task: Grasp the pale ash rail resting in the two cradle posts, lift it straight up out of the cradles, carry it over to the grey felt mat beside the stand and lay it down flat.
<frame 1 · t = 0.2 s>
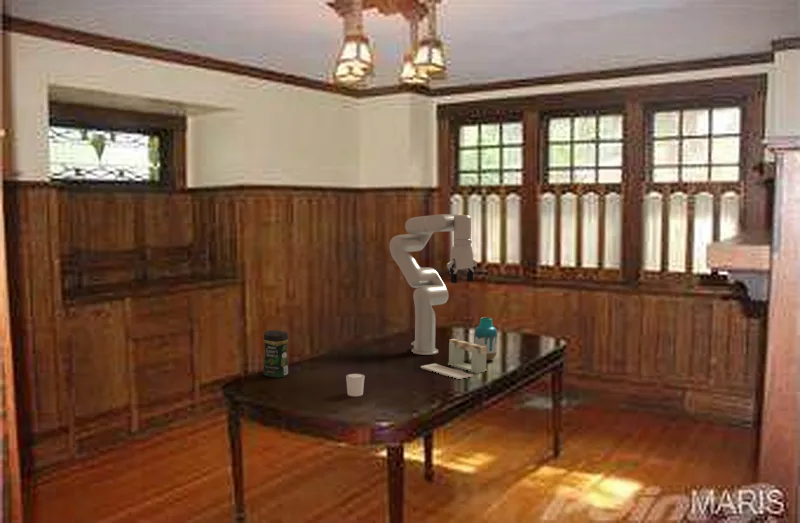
hand: (462, 282, 303), 36 cm above the table, tool pointing down, fingers open, 9 cm apart
vase: (485, 360, 311), on the table
coffee jar: (275, 376, 281), on the table
rail: (467, 349, 296), point 8 cm above the table, touching cradle stand
cradle stand: (467, 368, 296), on the table
felt mat: (446, 372, 289), on the table
shot glass: (355, 394, 256), on the table
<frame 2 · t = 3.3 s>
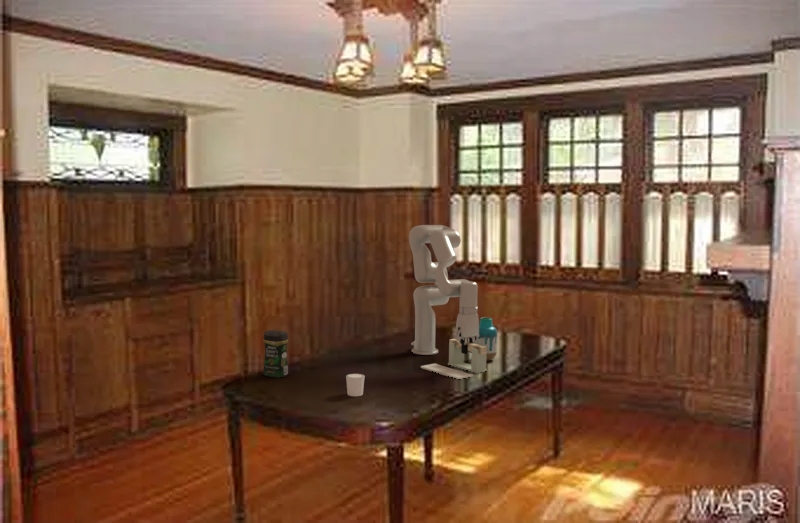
hand: (467, 352, 296), 7 cm above the table, tool pointing down, fingers closed on rail, 2 cm apart
rail: (467, 349, 296), point 8 cm above the table, touching cradle stand, gripper
everything else where it was.
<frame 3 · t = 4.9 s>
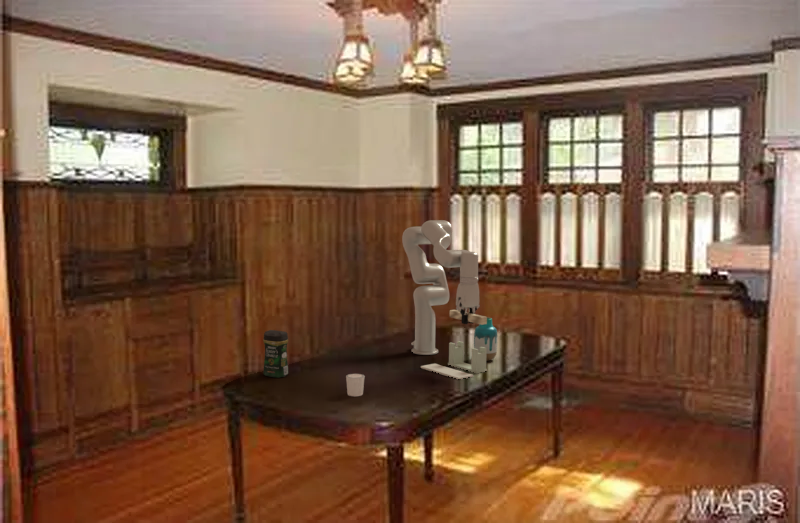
hand: (467, 323, 295), 20 cm above the table, tool pointing down, fingers closed on rail, 2 cm apart
rail: (467, 320, 295), point 21 cm above the table, touching gripper
everything else where it was.
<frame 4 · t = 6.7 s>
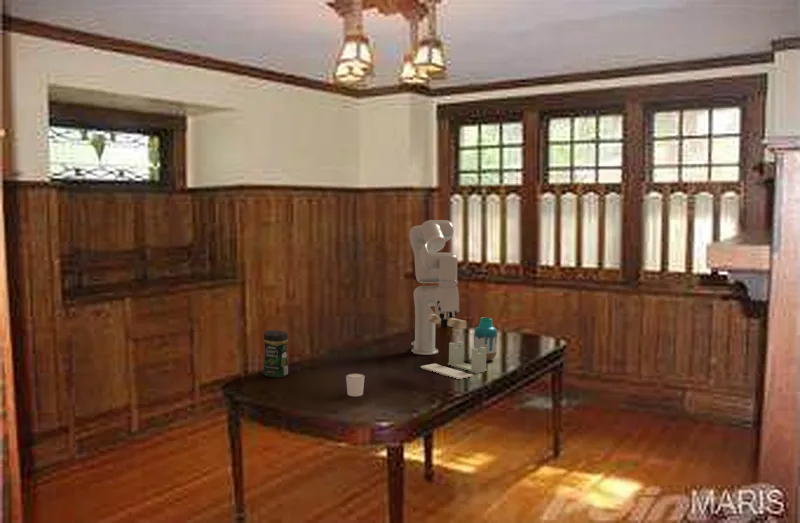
hand: (447, 327, 287), 19 cm above the table, tool pointing down, fingers closed on rail, 2 cm apart
rail: (447, 324, 287), point 20 cm above the table, touching gripper
everything else where it was.
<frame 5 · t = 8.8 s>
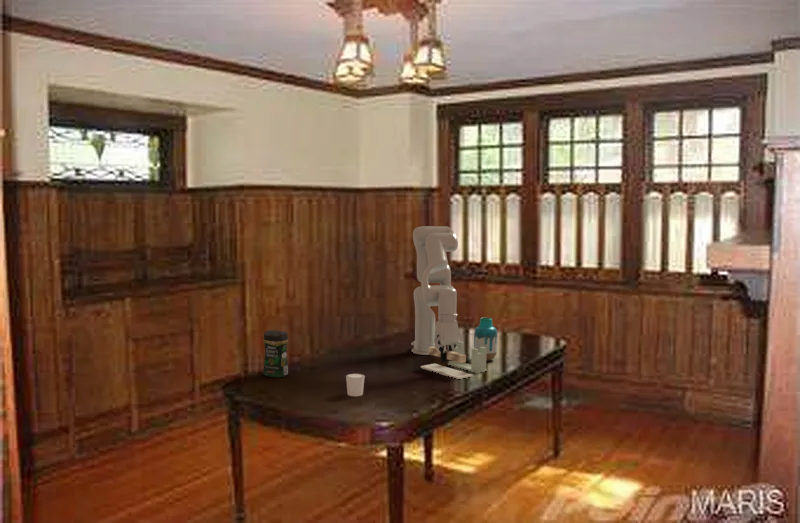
hand: (446, 360, 288), 5 cm above the table, tool pointing down, fingers closed on rail, 2 cm apart
rail: (446, 358, 288), point 6 cm above the table, touching gripper
everything else where it was.
when the fingers open (1 cm above the table, at t = 10.3 s): rail drops 2 cm, resting on felt mat.
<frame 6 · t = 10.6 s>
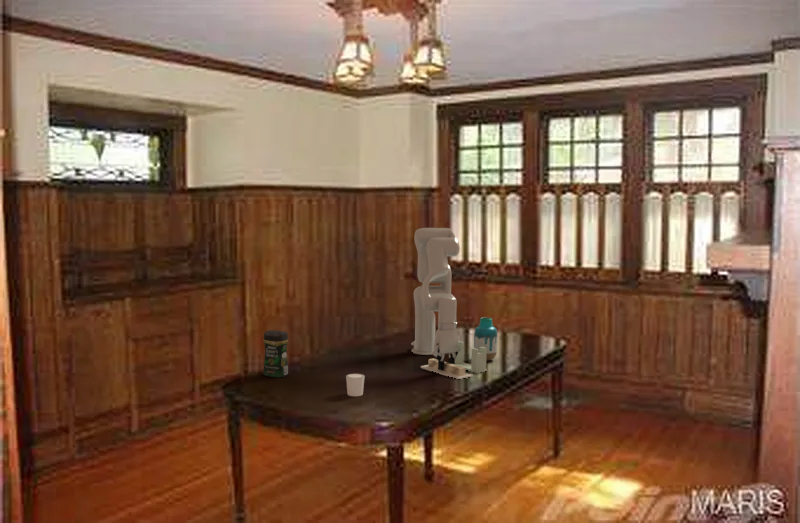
hand: (446, 368, 289), 2 cm above the table, tool pointing down, fingers open, 5 cm apart
rail: (446, 370, 289), point 1 cm above the table, touching felt mat
everything else where it was.
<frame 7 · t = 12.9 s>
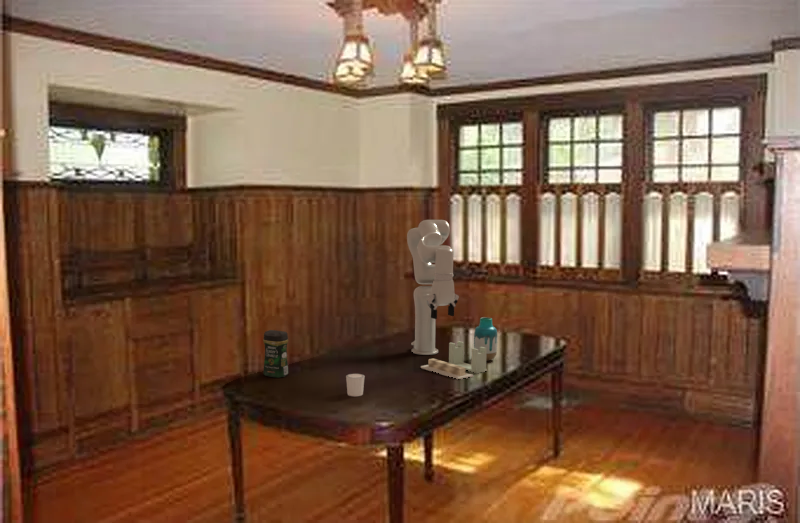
hand: (442, 316, 293), 22 cm above the table, tool pointing down, fingers open, 9 cm apart
nothing on the table moved.
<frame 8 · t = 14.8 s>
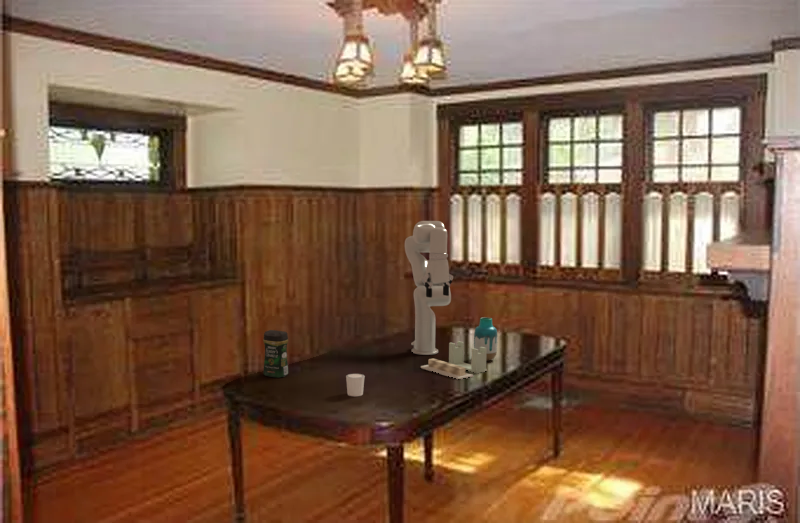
hand: (437, 296, 299), 30 cm above the table, tool pointing down, fingers open, 9 cm apart
nothing on the table moved.
at the end: rail inside the target area on the felt mat (0.0 cm from its centre), point 0.8 cm above the felt mat's base; rail touching felt mat; the gripper is holding nothing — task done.
